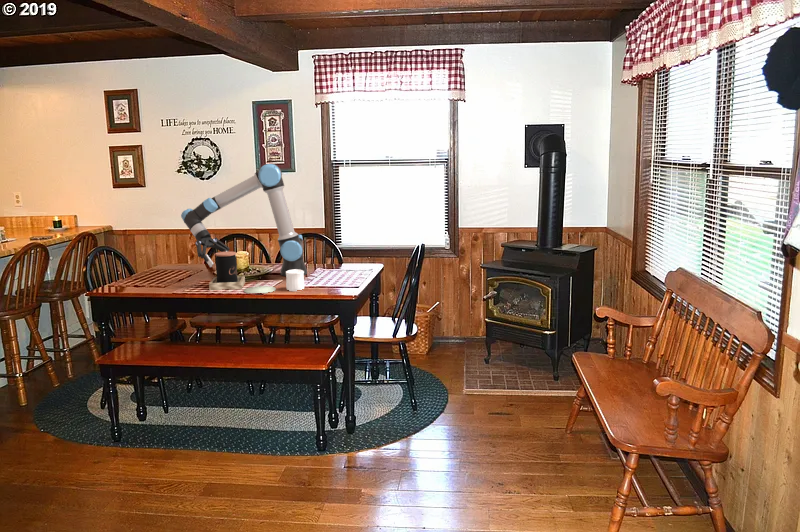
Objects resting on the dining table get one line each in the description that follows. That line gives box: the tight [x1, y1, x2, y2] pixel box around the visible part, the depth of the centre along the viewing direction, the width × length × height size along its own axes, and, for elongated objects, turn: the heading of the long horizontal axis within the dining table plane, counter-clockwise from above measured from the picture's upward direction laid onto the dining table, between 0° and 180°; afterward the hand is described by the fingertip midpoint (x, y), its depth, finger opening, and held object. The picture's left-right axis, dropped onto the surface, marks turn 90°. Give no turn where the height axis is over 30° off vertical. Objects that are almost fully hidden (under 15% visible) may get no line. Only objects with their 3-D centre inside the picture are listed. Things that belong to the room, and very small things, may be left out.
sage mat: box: [243, 285, 277, 294], centre depth 338 cm, size 16×16×1 cm
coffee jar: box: [215, 251, 238, 283], centre depth 347 cm, size 11×11×18 cm
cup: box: [285, 269, 305, 292], centre depth 338 cm, size 10×10×10 cm
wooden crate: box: [208, 276, 246, 291], centre depth 349 cm, size 16×16×4 cm
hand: (222, 263), depth 348 cm, fingers open, 13 cm apart
